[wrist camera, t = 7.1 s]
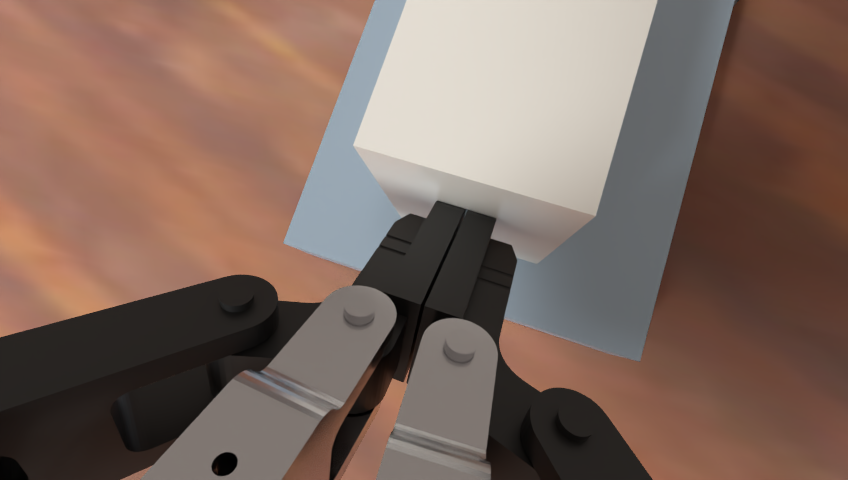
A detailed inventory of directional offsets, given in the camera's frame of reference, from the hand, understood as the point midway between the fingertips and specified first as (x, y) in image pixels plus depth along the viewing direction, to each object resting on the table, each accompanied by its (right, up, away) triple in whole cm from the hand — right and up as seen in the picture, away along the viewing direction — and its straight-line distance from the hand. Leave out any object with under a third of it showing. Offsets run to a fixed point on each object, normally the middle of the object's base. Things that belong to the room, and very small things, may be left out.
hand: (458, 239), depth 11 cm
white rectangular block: (+2, +5, +4) cm, 7 cm away
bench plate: (+3, +4, +7) cm, 9 cm away
